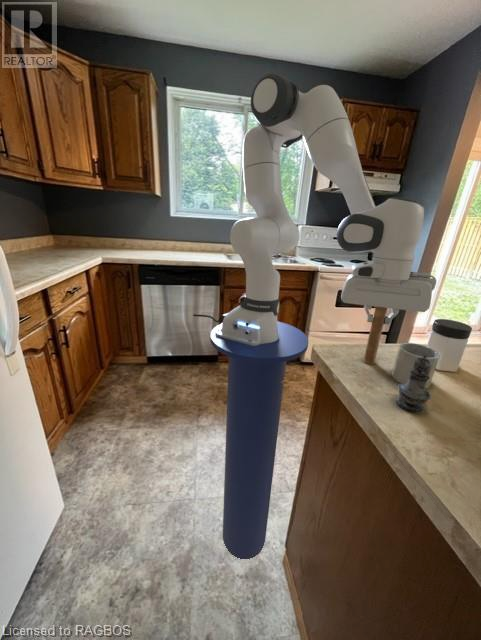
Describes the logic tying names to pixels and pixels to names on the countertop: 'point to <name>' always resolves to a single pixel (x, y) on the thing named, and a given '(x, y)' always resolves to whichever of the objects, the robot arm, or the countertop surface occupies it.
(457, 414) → the countertop surface
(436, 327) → the jar
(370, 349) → the stick
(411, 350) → the tin
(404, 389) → the grey stone figurine
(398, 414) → the countertop surface
